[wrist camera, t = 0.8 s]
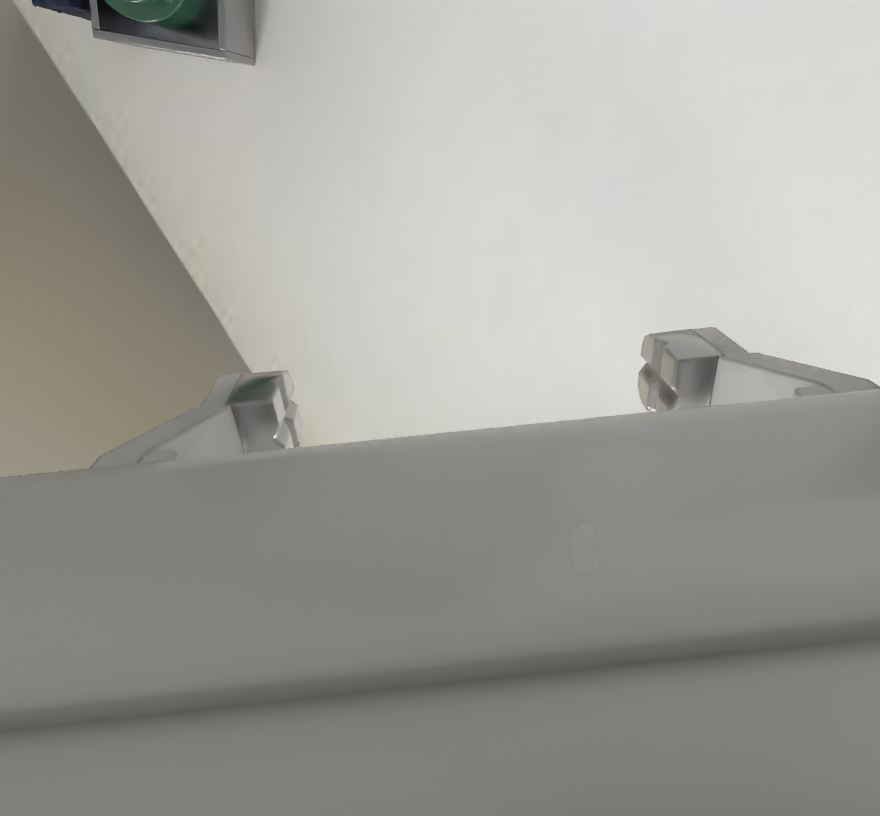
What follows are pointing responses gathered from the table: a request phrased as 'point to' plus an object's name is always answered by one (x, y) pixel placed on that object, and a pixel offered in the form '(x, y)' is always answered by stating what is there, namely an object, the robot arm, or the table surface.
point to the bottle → (173, 15)
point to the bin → (227, 46)
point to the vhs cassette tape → (66, 7)
